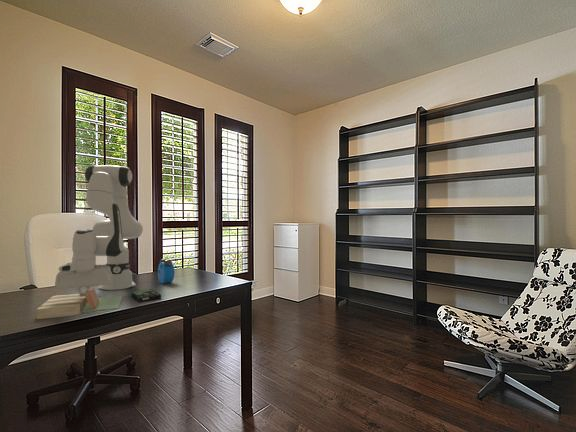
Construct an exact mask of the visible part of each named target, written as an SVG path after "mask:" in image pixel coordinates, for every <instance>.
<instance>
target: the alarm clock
mask: <svg viewBox="0 0 576 432" xmlns="http://www.w3.org/2000/svg"><path fill="white" fill-rule="evenodd" d="M157 276H158V281H159V283H160V284H167V283H168V284H169V283H170V284H171V283H172V282H173V281H174V278H175V266H174V264H173V261H172V260H171V259H167V258H165V257H164V258H161V259H160V260H159V264H158V268H157Z"/></svg>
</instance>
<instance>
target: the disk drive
mask: <svg viewBox="0 0 576 432" xmlns="http://www.w3.org/2000/svg"><path fill="white" fill-rule="evenodd" d="M131 297H132V298H133V299H134V300H136V301H137V302H138V303H144V302H149V301H155V300H161V299H162V294H161V293H159V292H158V291H156V290H154V289H153V288H150V289H142V290H137V291H133V292H131Z"/></svg>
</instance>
